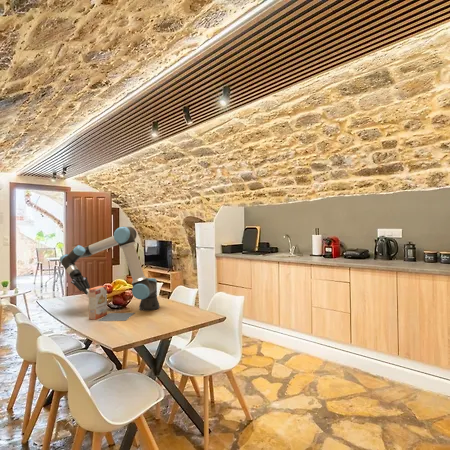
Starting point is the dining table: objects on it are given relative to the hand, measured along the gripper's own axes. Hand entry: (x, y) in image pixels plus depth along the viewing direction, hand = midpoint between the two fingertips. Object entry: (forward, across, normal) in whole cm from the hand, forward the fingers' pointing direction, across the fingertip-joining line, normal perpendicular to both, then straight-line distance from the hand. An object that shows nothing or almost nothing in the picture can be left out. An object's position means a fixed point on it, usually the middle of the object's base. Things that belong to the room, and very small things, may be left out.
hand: (90, 296), depth 241 cm
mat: (+23, -5, +4) cm, 24 cm away
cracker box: (+15, 0, -5) cm, 16 cm away
